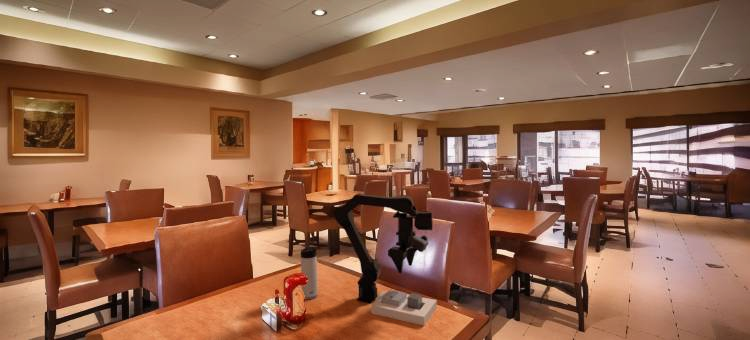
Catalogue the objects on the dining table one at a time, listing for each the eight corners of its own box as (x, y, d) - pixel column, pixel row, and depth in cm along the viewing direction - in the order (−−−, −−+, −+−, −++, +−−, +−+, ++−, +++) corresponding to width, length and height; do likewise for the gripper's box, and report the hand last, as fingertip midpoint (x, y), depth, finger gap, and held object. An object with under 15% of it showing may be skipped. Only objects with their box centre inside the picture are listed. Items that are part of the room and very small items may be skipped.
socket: (436, 308, 128) (436, 296, 127) (424, 325, 115) (424, 313, 115) (387, 298, 137) (387, 287, 136) (371, 313, 124) (371, 302, 124)
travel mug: (315, 300, 135) (313, 250, 134) (299, 299, 137) (297, 249, 135) (320, 293, 142) (319, 246, 140) (305, 292, 143) (304, 245, 142)
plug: (418, 316, 121) (417, 299, 121) (407, 313, 123) (407, 297, 123) (422, 311, 125) (422, 295, 124) (411, 308, 127) (411, 293, 126)
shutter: (406, 298, 129) (406, 291, 129) (399, 306, 123) (399, 298, 123) (389, 294, 132) (389, 287, 132) (381, 302, 126) (381, 295, 126)
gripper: (415, 237, 119) (415, 281, 120) (433, 226, 136) (433, 265, 137) (387, 233, 125) (387, 275, 126) (407, 223, 141) (407, 260, 142)
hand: (405, 269), depth 132 cm, fingers open, 9 cm apart
